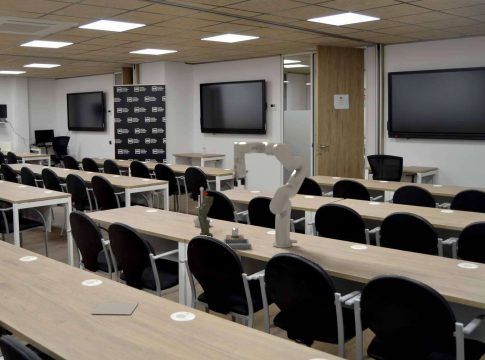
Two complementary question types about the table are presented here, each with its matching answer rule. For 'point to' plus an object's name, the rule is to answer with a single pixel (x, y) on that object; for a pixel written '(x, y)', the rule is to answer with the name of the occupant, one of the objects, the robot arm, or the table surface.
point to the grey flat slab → (114, 308)
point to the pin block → (235, 238)
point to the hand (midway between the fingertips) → (239, 185)
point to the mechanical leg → (205, 215)
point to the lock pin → (234, 232)
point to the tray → (238, 243)
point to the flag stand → (201, 204)
